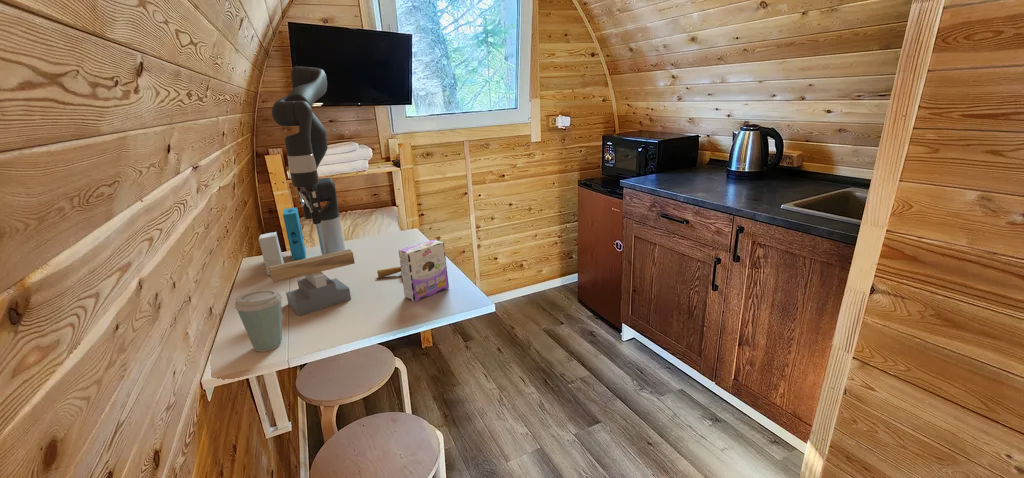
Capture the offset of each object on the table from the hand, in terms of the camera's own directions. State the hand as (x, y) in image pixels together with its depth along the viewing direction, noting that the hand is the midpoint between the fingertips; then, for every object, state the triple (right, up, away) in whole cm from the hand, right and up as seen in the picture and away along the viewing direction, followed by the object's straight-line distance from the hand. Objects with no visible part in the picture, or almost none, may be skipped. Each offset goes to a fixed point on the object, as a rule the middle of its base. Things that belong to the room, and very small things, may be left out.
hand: (312, 221), depth 139 cm
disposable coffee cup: (-1, -34, -22) cm, 41 cm away
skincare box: (-29, -18, +33) cm, 48 cm away
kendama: (+23, -19, +22) cm, 37 cm away
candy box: (+35, -23, +6) cm, 43 cm away
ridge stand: (+1, -26, +3) cm, 26 cm away
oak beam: (0, -16, 0) cm, 16 cm away
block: (-28, -13, +49) cm, 58 cm away
